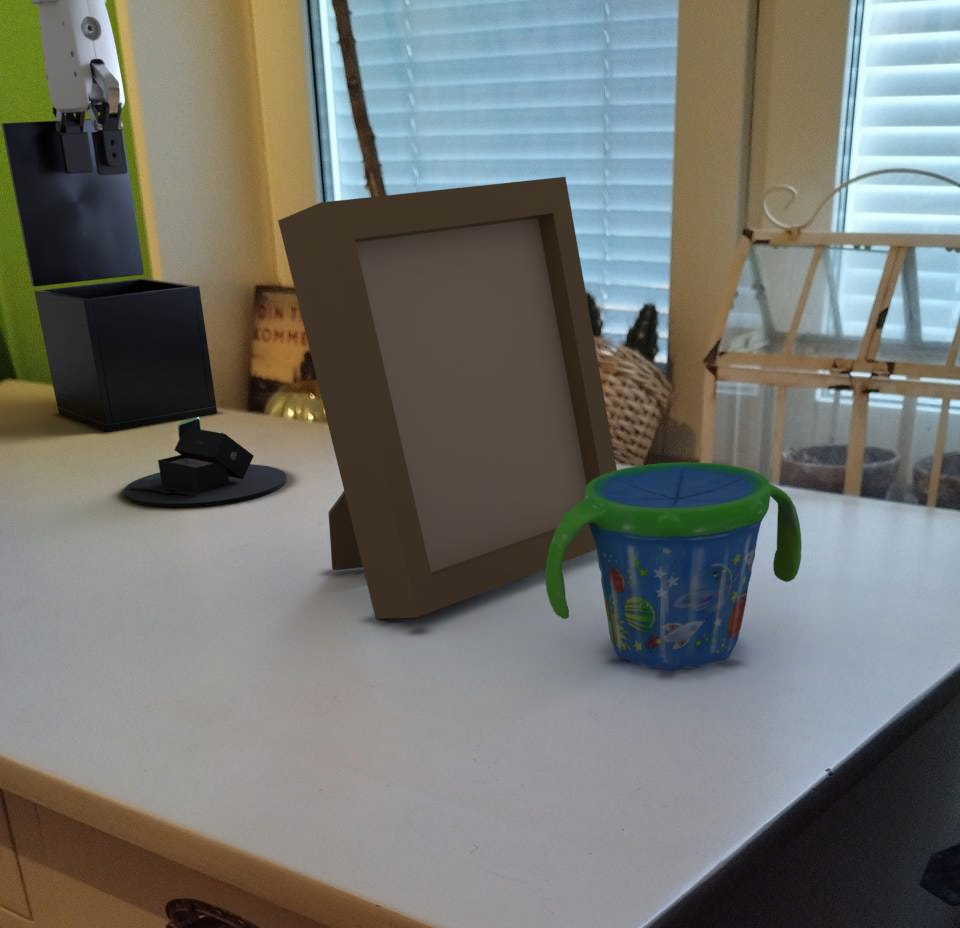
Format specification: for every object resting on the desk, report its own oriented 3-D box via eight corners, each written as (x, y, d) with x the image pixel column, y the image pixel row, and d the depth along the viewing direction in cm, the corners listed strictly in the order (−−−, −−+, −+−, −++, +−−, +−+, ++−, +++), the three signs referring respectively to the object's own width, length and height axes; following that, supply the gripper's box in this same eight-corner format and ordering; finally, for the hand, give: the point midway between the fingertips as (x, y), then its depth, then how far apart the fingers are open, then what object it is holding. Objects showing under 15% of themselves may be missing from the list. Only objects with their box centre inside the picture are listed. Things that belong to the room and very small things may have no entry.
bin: (217, 413, 154) (199, 286, 147) (107, 432, 148) (83, 299, 141) (162, 397, 165) (143, 278, 159) (58, 413, 159) (33, 290, 152)
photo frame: (628, 550, 98) (630, 175, 86) (419, 631, 85) (386, 202, 73) (485, 520, 108) (469, 178, 95) (276, 589, 94) (226, 202, 82)
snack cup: (571, 699, 74) (568, 520, 69) (527, 638, 83) (522, 475, 78) (831, 666, 76) (846, 490, 71) (761, 610, 86) (770, 450, 81)
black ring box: (319, 479, 123) (313, 419, 120) (187, 516, 114) (177, 451, 111) (222, 460, 132) (214, 403, 129) (93, 492, 123) (81, 432, 120)
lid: (121, 117, 150) (100, 117, 154) (3, 123, 143) (-15, 123, 147) (144, 274, 158) (124, 270, 163) (34, 286, 152) (16, 281, 156)
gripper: (134, -21, 131) (160, 173, 139) (71, -6, 143) (98, 171, 151) (61, -22, 127) (92, 177, 135) (3, -8, 139) (34, 174, 148)
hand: (95, 173), depth 143 cm, fingers open, 9 cm apart
